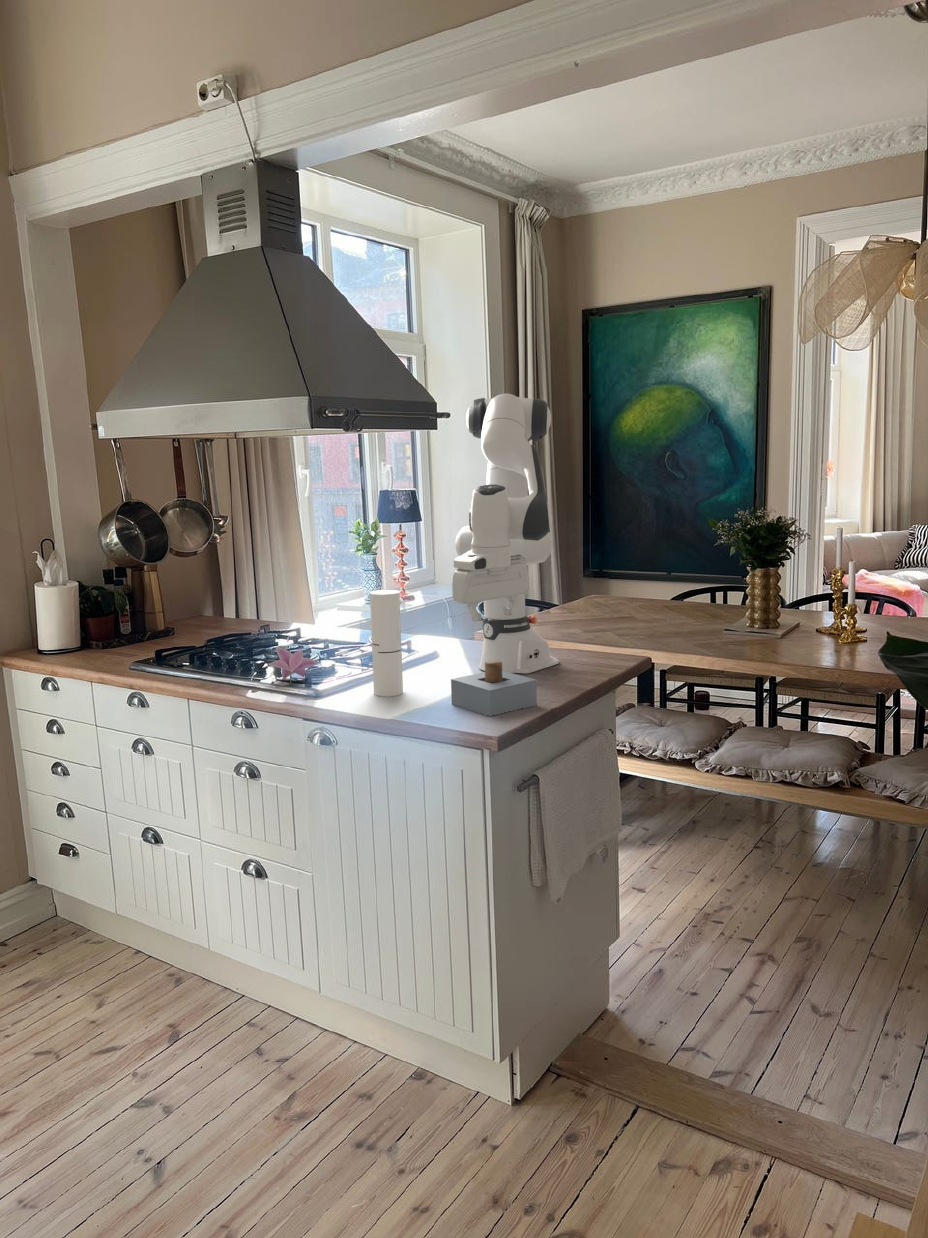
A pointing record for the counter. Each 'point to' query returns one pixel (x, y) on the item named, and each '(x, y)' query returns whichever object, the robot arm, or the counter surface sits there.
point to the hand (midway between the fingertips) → (492, 618)
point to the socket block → (494, 693)
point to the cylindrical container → (386, 642)
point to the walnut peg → (493, 671)
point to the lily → (292, 662)
